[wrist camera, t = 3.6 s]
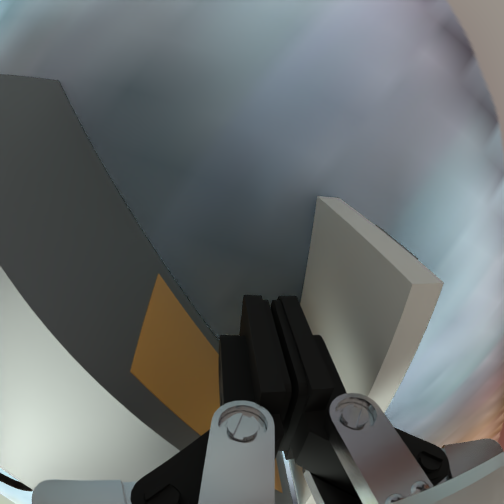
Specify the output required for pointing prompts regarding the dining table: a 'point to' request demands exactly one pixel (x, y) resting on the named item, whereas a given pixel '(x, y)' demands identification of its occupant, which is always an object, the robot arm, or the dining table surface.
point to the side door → (363, 305)
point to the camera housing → (88, 313)
